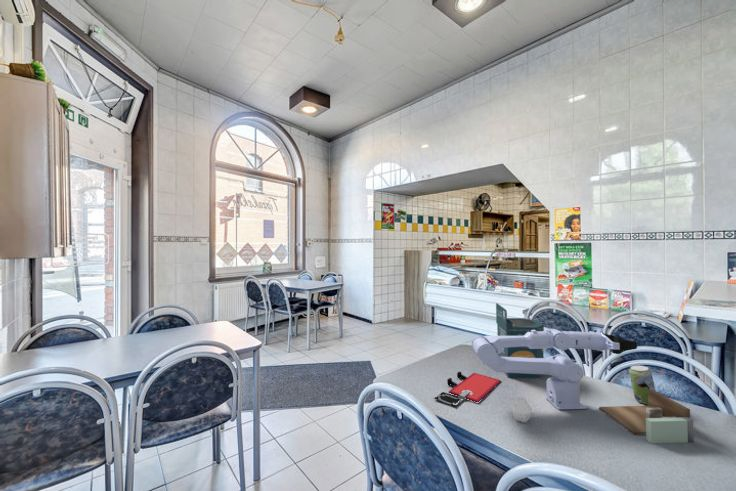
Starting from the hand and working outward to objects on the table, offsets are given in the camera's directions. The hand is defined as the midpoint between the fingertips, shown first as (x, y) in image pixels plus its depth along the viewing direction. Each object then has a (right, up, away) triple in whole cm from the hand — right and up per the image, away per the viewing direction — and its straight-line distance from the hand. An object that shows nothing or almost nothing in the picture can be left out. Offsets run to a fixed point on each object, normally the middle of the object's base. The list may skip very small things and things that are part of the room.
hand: (627, 342), depth 107 cm
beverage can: (+7, -21, +2) cm, 22 cm away
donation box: (-21, -22, +31) cm, 43 cm away
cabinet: (-3, -21, -9) cm, 23 cm away
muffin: (-39, -23, -7) cm, 46 cm away
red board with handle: (-50, -23, +14) cm, 57 cm away
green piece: (-5, -21, -19) cm, 29 cm away
